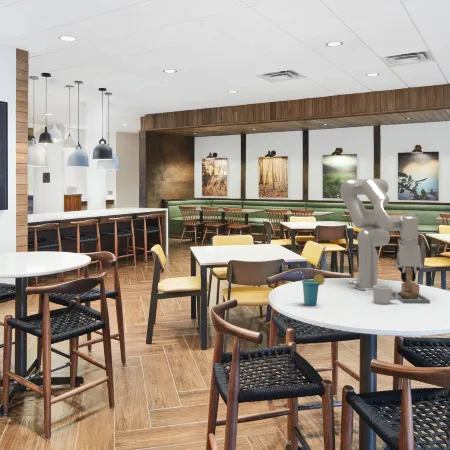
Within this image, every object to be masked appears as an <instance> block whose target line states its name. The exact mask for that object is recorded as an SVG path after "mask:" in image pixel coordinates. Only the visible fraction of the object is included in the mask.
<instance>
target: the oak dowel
mask: <svg viewBox="0 0 450 450" xmlns="http://www.w3.org/2000/svg"><path fill="white" fill-rule="evenodd" d="M405 273H406V281H403V282H404V292H407V293H411V292H412V283H413V281H412V276H413V267H406V268H405Z"/></svg>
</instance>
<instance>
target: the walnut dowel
mask: <svg viewBox="0 0 450 450" xmlns="http://www.w3.org/2000/svg"><path fill="white" fill-rule="evenodd" d="M400 297H401V298H402V299H404V300H419V297H418V294H417V293H401V295H400Z"/></svg>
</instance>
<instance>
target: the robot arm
mask: <svg viewBox="0 0 450 450" xmlns="http://www.w3.org/2000/svg"><path fill="white" fill-rule="evenodd" d="M388 191H389V184H388V182H387V180H385V179H383V178H366V179H365V178H363V179H362V178H361V179H359V178H353V179H346V180H344V181H343V182H342V184H341V186H340V197H341V200H342V201H343V203H344V205H345V207H346V209H347V211H348V213H349V216H350V219H351V220H352V223H353V225H354V226H355V228H357V229H360V231H359V232H358V233H357V244H358V245H357V246H358V277H357V278H356V279H355V280H349V281H348V285H355V286H354V288H355V289H356V290H361V291H367V290H369V291H370V290H372V291H373V286H374V285H378V269H379V268H378V261H379V259H378V258H379V255H378V251H377V248H376V247H384V246H387V245H388V244H389V242H390V240H391V237H390V232H399V231H400V239H398V240H397V244H399V246H398V247H397V248H398V250H397V254H396V255H397V257H396V262H395V263H394V264H393V267H394V268H395V269H397V270H398V271H400V280H401V281H402V282H404V281H406V273H405V268H406V267H413V276H412V282H413V283H416V282H415V281H416V277H417V275H416V274H417V273H418V271H419V270H420V269H422V268H424V264H423V263H422V253H421V246H420V245H419V218H418V216H414V215H413V216H411V215H408V216H407V215H402V214H398V215H394V214H392V215H389V214H388V212H386V210H385V209H384V208H385V207H386V206H387V205H388V204H389V202H390V197H389V196H388V195H387V193H388ZM361 195H362V196H366V198H367V199H368V201H369V202H370V203H371V205H372V206H373V210H367V209H366V207H365V205H364V203H363V202H362V200H361V199H360V198H359V197H358V196H361Z"/></svg>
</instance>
